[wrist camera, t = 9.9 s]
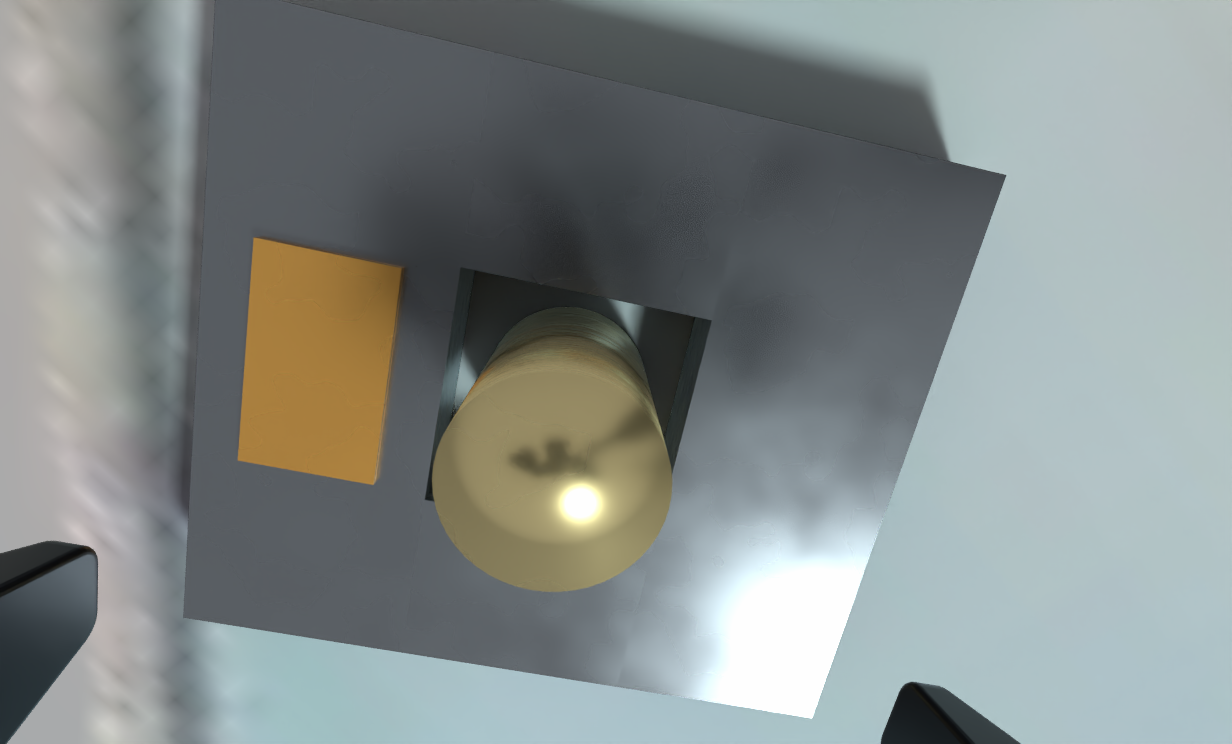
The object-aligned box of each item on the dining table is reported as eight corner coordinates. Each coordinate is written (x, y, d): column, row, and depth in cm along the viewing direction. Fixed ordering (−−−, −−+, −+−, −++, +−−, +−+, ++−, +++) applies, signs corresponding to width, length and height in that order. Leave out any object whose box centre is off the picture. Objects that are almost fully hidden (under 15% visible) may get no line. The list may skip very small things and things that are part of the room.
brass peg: (661, 325, 16) (698, 399, 11) (626, 470, 17) (642, 609, 12) (502, 291, 16) (451, 349, 10) (476, 441, 17) (416, 570, 11)
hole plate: (955, 176, 16) (1011, 175, 14) (790, 664, 19) (814, 723, 17) (266, 12, 14) (209, -19, 12) (227, 570, 18) (178, 622, 16)
